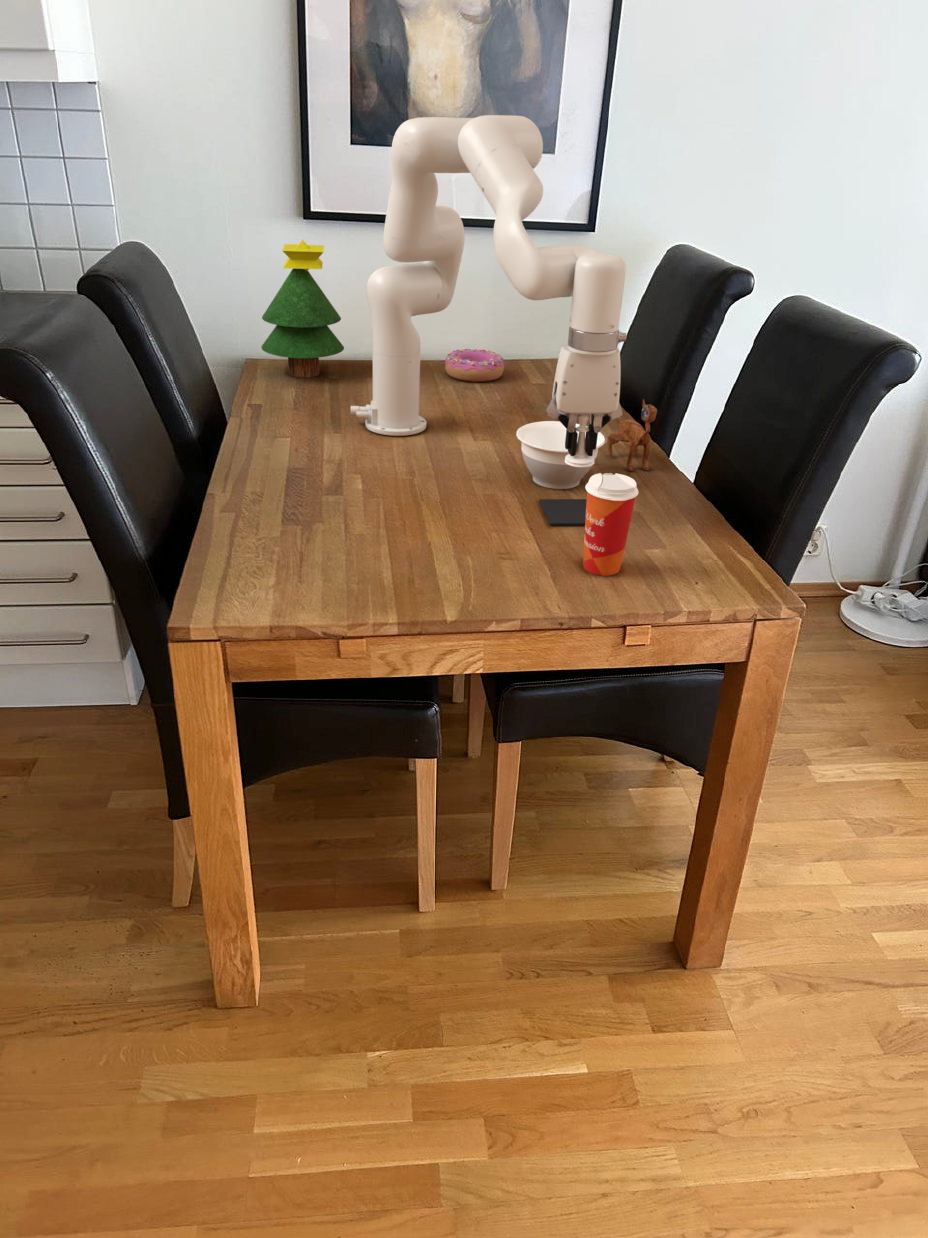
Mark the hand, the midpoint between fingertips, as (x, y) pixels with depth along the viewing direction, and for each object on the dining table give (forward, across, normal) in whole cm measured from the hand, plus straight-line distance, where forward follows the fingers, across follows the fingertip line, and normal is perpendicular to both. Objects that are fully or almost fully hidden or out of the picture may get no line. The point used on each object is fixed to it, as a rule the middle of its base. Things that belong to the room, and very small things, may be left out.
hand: (579, 452), depth 154 cm
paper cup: (+11, 0, +20) cm, 23 cm away
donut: (+11, +7, -82) cm, 83 cm away
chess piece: (+2, 0, 0) cm, 2 cm away
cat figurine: (+11, -16, -26) cm, 33 cm away
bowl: (+11, 0, -15) cm, 19 cm away
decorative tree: (+11, +48, -82) cm, 96 cm away
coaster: (+11, 0, 0) cm, 11 cm away
